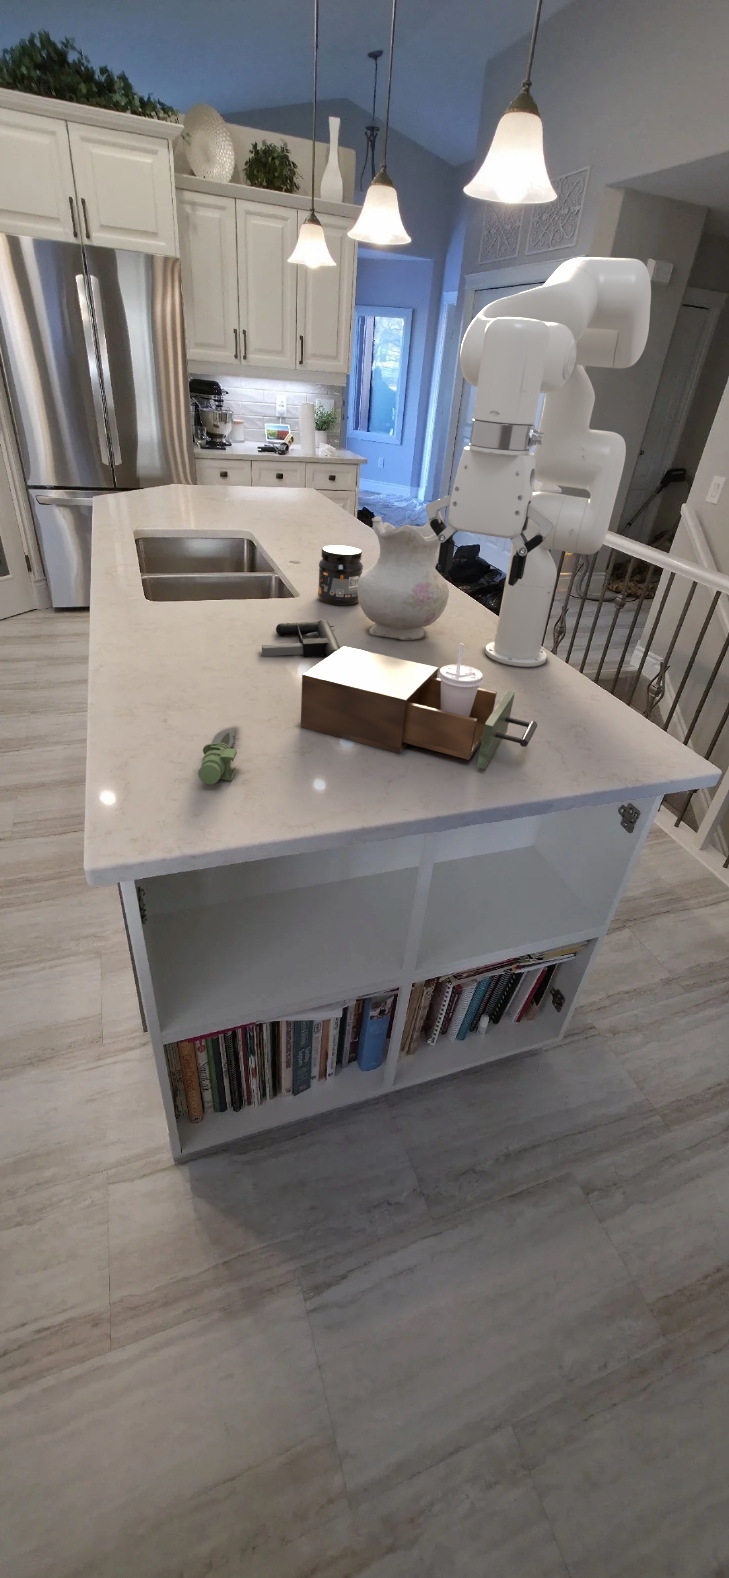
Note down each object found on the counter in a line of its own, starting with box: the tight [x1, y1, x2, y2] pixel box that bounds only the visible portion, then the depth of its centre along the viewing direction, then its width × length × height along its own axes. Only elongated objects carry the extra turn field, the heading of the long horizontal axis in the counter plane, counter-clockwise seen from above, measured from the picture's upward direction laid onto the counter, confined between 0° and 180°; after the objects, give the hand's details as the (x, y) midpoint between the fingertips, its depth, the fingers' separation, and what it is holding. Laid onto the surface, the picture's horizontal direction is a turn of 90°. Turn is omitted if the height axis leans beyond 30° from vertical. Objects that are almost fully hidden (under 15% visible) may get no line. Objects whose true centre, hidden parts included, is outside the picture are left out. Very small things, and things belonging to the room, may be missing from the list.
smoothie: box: [438, 642, 484, 717], centre depth 100 cm, size 6×6×14 cm
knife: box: [198, 728, 238, 785], centre depth 95 cm, size 4×18×5 cm
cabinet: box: [300, 645, 439, 755], centre depth 107 cm, size 17×15×9 cm
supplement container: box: [317, 544, 364, 606], centre depth 163 cm, size 10×10×12 cm
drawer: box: [403, 677, 538, 770], centre depth 102 cm, size 20×14×7 cm, turn 66°
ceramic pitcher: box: [357, 510, 450, 641], centre depth 143 cm, size 22×20×25 cm
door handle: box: [261, 619, 341, 659], centre depth 135 cm, size 3×20×16 cm
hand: (478, 577), depth 93 cm, fingers open, 9 cm apart
